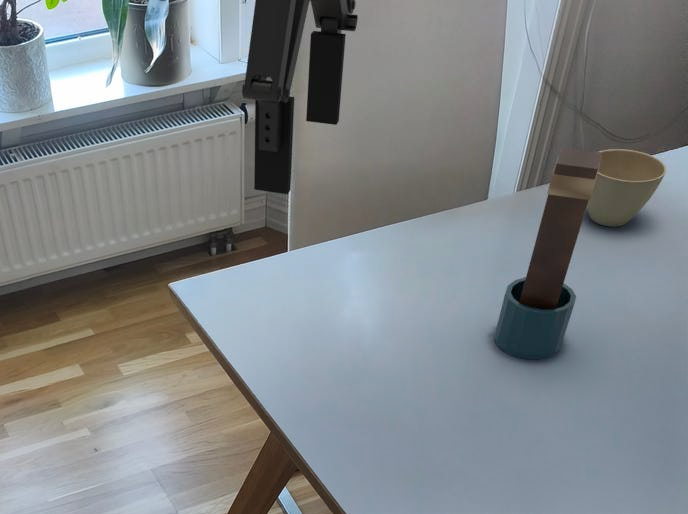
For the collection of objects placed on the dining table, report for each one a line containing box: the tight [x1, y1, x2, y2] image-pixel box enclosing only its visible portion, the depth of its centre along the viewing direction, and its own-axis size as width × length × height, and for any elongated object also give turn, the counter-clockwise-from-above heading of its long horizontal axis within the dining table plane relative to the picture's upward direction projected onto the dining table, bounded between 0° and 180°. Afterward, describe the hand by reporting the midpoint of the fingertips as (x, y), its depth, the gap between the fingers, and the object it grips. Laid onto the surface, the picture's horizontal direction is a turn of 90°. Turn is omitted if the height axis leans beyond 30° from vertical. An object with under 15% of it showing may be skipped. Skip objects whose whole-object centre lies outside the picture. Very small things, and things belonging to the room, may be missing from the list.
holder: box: [494, 276, 577, 360], centre depth 102 cm, size 8×8×6 cm
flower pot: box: [586, 148, 667, 228], centre depth 119 cm, size 10×10×7 cm
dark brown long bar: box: [519, 147, 602, 310], centre depth 96 cm, size 4×4×20 cm
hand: (298, 154), depth 72 cm, fingers open, 13 cm apart
